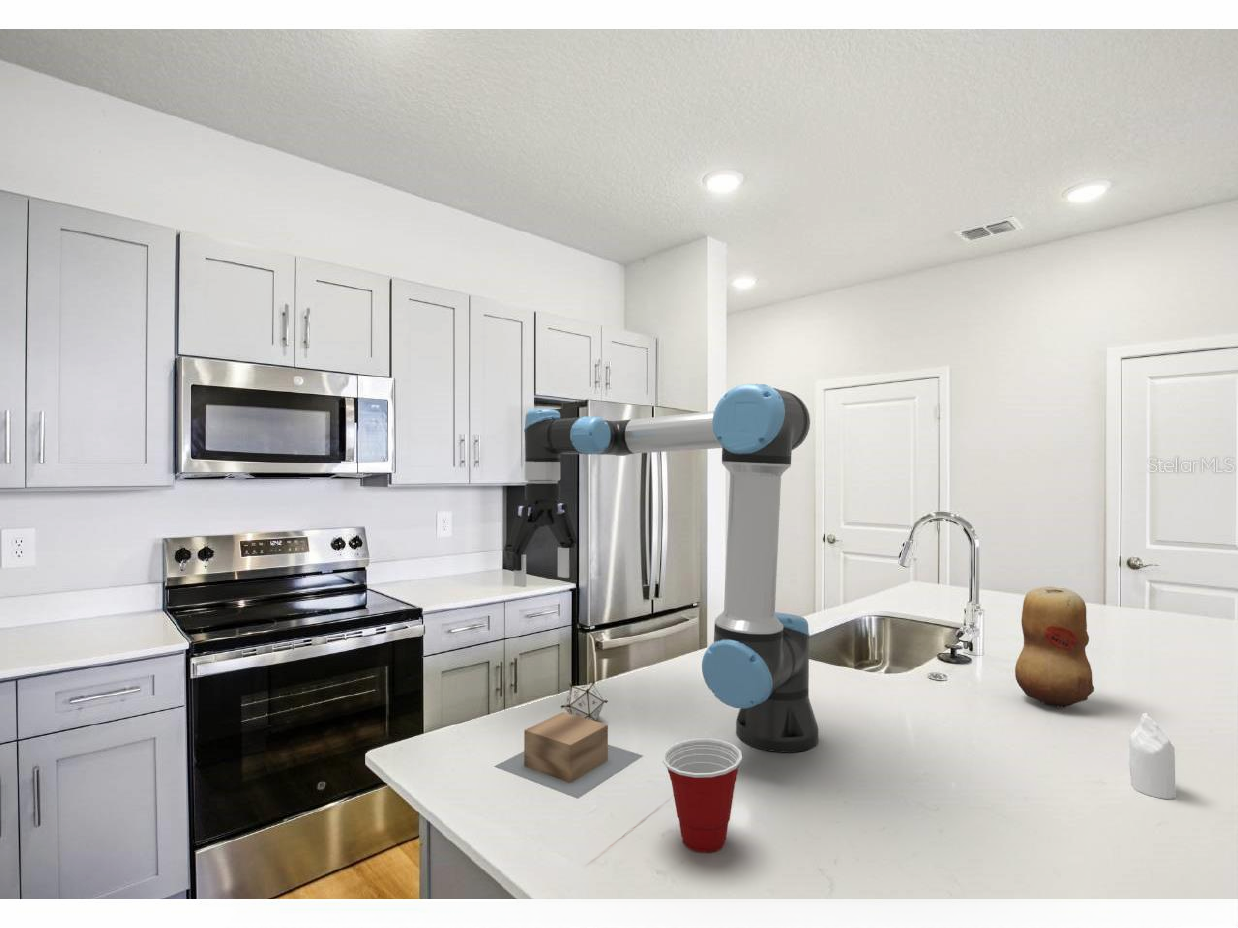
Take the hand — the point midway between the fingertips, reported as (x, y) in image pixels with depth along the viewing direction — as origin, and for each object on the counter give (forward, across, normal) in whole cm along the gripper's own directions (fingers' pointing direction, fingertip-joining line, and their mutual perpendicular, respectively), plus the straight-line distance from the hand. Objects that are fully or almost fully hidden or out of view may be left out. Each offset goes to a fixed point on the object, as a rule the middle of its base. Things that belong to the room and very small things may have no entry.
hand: (542, 581), depth 139 cm
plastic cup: (+27, +25, +52) cm, 63 cm away
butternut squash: (+27, -64, +88) cm, 113 cm away
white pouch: (+27, -29, +103) cm, 110 cm away
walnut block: (+26, +19, +23) cm, 39 cm away
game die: (+26, +3, +14) cm, 30 cm away
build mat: (+26, +18, +23) cm, 39 cm away
